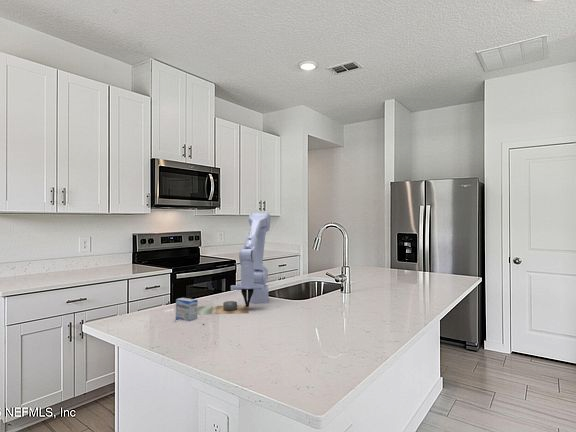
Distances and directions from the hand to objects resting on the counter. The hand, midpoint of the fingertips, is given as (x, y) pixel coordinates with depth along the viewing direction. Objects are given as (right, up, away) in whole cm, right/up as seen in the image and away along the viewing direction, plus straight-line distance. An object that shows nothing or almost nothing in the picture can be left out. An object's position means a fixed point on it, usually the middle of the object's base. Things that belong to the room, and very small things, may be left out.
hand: (247, 306), depth 167 cm
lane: (-13, -2, -2) cm, 14 cm away
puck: (-7, -1, -1) cm, 8 cm away
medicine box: (-23, -3, -15) cm, 27 cm away
